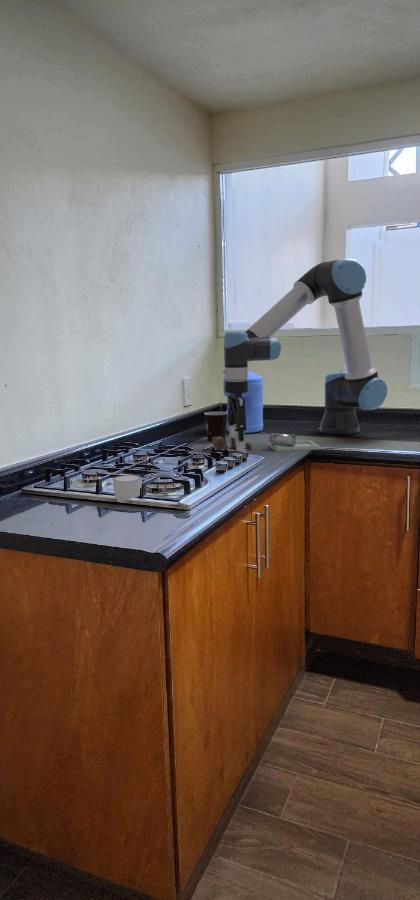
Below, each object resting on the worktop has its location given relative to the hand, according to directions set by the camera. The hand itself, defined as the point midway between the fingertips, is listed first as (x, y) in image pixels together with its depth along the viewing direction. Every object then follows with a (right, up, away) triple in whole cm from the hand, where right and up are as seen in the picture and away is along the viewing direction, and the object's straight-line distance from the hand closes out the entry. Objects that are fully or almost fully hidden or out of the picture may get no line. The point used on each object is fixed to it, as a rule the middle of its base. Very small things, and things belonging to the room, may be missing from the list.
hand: (237, 447), depth 200 cm
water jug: (+4, +7, +40) cm, 41 cm away
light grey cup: (-28, -14, -58) cm, 66 cm away
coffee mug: (-6, +3, +21) cm, 22 cm away
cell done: (+19, +2, +3) cm, 20 cm away
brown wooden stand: (-1, -1, 0) cm, 2 cm away
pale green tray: (+19, 0, +3) cm, 20 cm away
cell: (0, -1, 0) cm, 1 cm away
